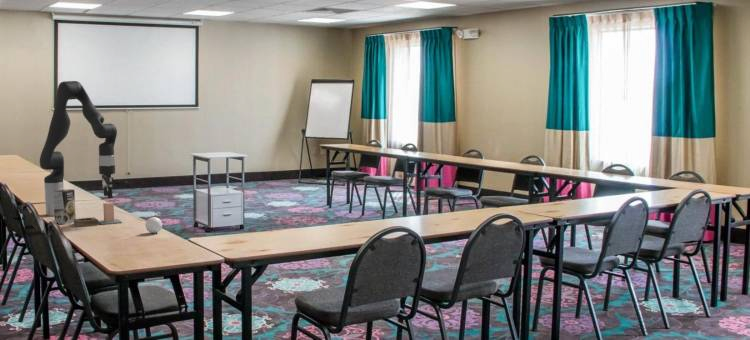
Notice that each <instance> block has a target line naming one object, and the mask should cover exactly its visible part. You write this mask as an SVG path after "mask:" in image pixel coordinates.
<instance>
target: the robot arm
mask: <svg viewBox="0 0 750 340" xmlns="http://www.w3.org/2000/svg"><path fill="white" fill-rule="evenodd" d="M57 86H58V87H57V90H56V95H55V96H56V97H55V102H54V103H55V105H54V108H53V113H52V117H51V120H50V124H49V129H48V131H47V132H48V133H47V137H46V139H45V143H44V146H43V148H42V151H41V153H40V157H39V166H40V168H41V169H43V170H45V171H51V170H52V172H51V173H50V174H48V175H45V177H44V179H43V182H44V200H45V201H44V202H45V216H49V217H50V216H51V217H54V195H53V192H54V191H59V190H65V188H64V178H65V177H64V176H65V160H64V155H63V153H62V152H61V151H55V149H56V148H57V147H58V146H59V145H60V144H61V143H62V141H63V140H64V139H65V138H67V136H68V133H69V131H70V126H71V119H70V116H69V114H68V111H67V105H68V102H69V100H78V102H80V103H81V105H82V106H81V107H82V108H81V109H82V110H81V111H82V115H83V117H84V118H85V119H86V121H87V122H88V123H89V125H90V126H91V129H92V131H93V134H94V135H95V137H96V138H98V139H105V140H104V142H102V143H100V144H99V145H98V173H99V175H101V187H102V189H103V196H104V197H107V198H108V199H113V190H114V188H115V187H114V177H112V175H115V174H116V159H115V148H114V147H115V143H116V140H117V137H118V135H117V134H118V129H117V127H116V125H115V124H113V123H104V122H105V118H104V115H102V113H101V112H100V111H99V110H98V109H97V108H96V106H95V105H94V104H93V102H92V100H91V98H90V96H89V95H88V93H87V92H86V90H85V87H84V86H83V85H82V83H81V82H80V81H78V80H77V81H76V80H68V81H67V80H66V81H65V80H64V81H61V82H60V83H59V84H58V85H57Z"/></svg>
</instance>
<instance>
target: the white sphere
mask: <svg viewBox="0 0 750 340" xmlns="http://www.w3.org/2000/svg"><path fill="white" fill-rule="evenodd" d="M162 227H163V222H162V221H161V219H160V218H158V217H150V218H148V219H147V220H146V222H145V229H146V231H148V233H150V234H157V233H159V232H161V230H162ZM156 232H157V233H156Z"/></svg>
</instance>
